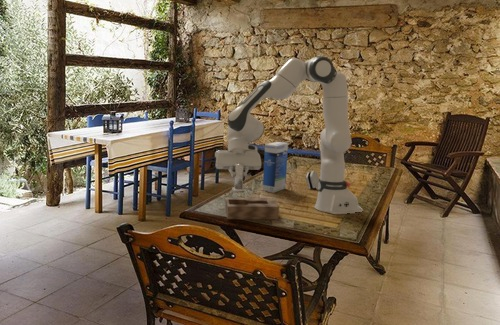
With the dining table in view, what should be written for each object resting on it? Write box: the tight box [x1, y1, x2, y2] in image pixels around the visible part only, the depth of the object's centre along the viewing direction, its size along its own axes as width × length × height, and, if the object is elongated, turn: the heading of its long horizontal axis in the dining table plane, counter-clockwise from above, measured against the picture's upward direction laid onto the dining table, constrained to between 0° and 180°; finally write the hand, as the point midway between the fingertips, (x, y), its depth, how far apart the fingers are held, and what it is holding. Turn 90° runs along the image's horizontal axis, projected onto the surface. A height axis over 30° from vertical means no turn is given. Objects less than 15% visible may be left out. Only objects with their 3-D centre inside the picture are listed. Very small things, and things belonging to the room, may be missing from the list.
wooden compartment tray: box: [224, 197, 280, 220], centre depth 189 cm, size 22×14×6 cm, turn 97°
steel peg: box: [231, 163, 246, 193], centre depth 186 cm, size 6×6×12 cm
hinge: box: [305, 170, 320, 191], centre depth 248 cm, size 17×5×10 cm, turn 161°
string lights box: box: [262, 141, 289, 194], centre depth 234 cm, size 13×8×26 cm, turn 146°
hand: (239, 176), depth 185 cm, fingers closed on steel peg, 4 cm apart
